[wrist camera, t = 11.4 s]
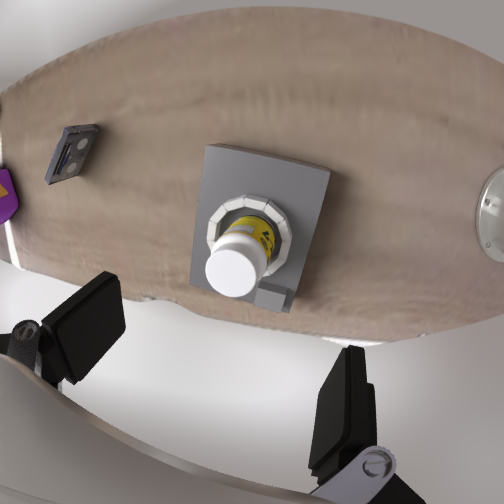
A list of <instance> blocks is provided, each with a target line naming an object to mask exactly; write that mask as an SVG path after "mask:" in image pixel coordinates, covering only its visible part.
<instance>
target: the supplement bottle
mask: <svg viewBox="0 0 504 504" xmlns="http://www.w3.org/2000/svg"><path fill="white" fill-rule="evenodd" d="M275 243H276V234H275V230H274V228H273V226H272V224H271V223H270V222H269V221H268V220H267V219H265V218H264V217H262V216H260V215H256V214H247V215H243V216H241V217H239V218H238V219H236V220H235V221H234V222H233V223H232V225H231V226H230V227H229V228H228V229H227V230H226V231H225V232H224V234H223V235H222V236H221V237H220V238H219V239H218V240H217V241H216V243H215V244H214V246H213V248H212V251H211V256H210V257H209V259H208V261H207V263H206V268H205V272H206V277H207V279H208V281H209V283H210V284H211V286H212V287H213V288H214V289H215V290H216V291H218V292H219V293H221V294H223V295H226V296H229V297H240V296H243V295H246V294H247V293H249V292H250V291H251V290H252V289H253V288H254V286H255V284H256V283H257V282H258V281H259V280H260V279H261V278H262V277H263V275H264V273H265V271H266V269H267V266H268V263H269V260H270V258H271V255H272V252H273V250H274V247H275Z"/></svg>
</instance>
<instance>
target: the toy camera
mask: <svg viewBox="0 0 504 504" xmlns="http://www.w3.org/2000/svg"><path fill="white" fill-rule="evenodd" d="M17 208H18V199H17V196H16V193H15V190H14V187H13V183H12V180H11V177H10V174H9V171H8V170H7V169H2V170H0V225H1V224H3V223H5V222H6V221H7V220H8V219H9V218H10V217H11V216H12V214H13V213H14V212H15V211H16V209H17Z"/></svg>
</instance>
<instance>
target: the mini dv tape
mask: <svg viewBox="0 0 504 504" xmlns="http://www.w3.org/2000/svg"><path fill="white" fill-rule="evenodd" d="M99 131H100V130H99V129H98V128H97V127H96V126H95V125H94V124H88V125H77V126H68V127H66V128H64V130H63V133H62V135H61V137H60V140H59V142H58V144H57V147H56V149H55V152H54V155H53V157H52V160H51V163H50V165H49V168H48V171H47V174H46V177H45V181H46V182H47V183H48V185H51V184H54V183H57V182H60V181H63V180H66V179H69V178H72V177H75V176H78V174H79V171H80V169H81V167H82V165H83V163H84V160H85V158H86V156H87V154H88V152H89V150H90V148H91V146H92V144H93V142H94V140H95V138H96V136H97V134H98V133H99Z"/></svg>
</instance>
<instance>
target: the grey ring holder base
mask: <svg viewBox="0 0 504 504" xmlns="http://www.w3.org/2000/svg"><path fill="white" fill-rule="evenodd" d="M330 173H331V172H330V170H329V168H326V167H322V166H318V165H314V164H311V163H307V162H303V161H299V160H295V159H291V158H287V157H282V156H278V155H274V154H269V153H265V152H260V151H255V150H250V149H245V148H240V147H235V146H229V145H224V144H210V145H206V149H205V155H204V162H203V169H202V175H201V182H200V190H199V197H198V205H197V213H196V221H195V230H194V239H193V248H192V258H191V269H190V280H189V285H192V286H196V287H199V288H202V289H205V290H209V291H212V292H215V293H218V294H221V293H219V292H218V291H216V290H215V289H214V288H213V287H212V286H211V284H210V283H209V281H208V279H207V277H206V272H205V268H206V263H207V261H208V259H209V257H210V256H211V251H212V248H213V246H214V244H215V243H216V241H217V240H218V239H219V238H220V237H221V236H222V235H223V234H224V232H225V231H226V230H227V229H228V228H229V227H230V226H231V225H232V223H233V222H234V221H235V220H236V219H238V218H239V217H241V216H243V215H247V214H256V215H260V216H262V217H264V218H265V219H267V220H268V221H269V222H270V223H271V224H272V226H273V228H274V230H275V234H276V243H275V247H274V250H273V252H272V255H271V258H270V260H269V263H268V266H267V269H266V271H265V273H264V275H263V277H262V278H261V279H260V280H259V281H258V282H257V283H256V284H255V286H254V288H253V289H252V290H251V291H250V292H249V293H247V294H246V295H243V296H240V297H232V298H235V299H239V300H242V301H246V302H249V303H253V304H254V305H253V306H255V307H259V308H262V309H266V310H270V311H273V312H277V313H281V311H282V312H286V313H289V311H290V308H291V305H292V302H293V299H294V296H295V293H296V290H297V287H298V284H299V281H300V278H301V274H302V271H303V268H304V265H305V262H306V258H307V255H308V252H309V249H310V245H311V242H312V238H313V235H314V232H315V228H316V225H317V221H318V218H319V214H320V211H321V207H322V203H323V200H324V196H325V192H326V189H327V185H328V181H329V177H330ZM222 295H223V294H222ZM225 296H226V295H225Z"/></svg>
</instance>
